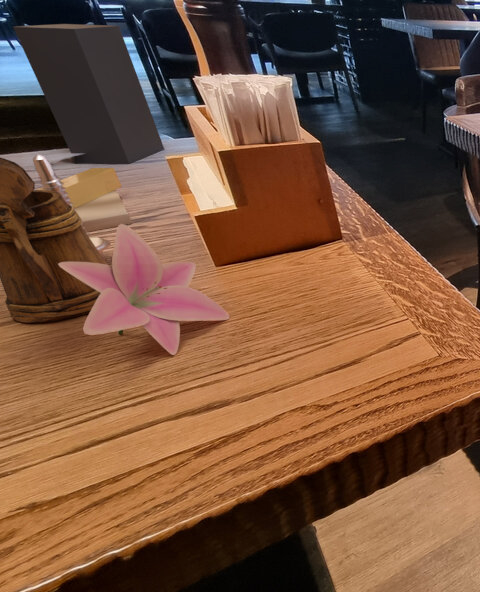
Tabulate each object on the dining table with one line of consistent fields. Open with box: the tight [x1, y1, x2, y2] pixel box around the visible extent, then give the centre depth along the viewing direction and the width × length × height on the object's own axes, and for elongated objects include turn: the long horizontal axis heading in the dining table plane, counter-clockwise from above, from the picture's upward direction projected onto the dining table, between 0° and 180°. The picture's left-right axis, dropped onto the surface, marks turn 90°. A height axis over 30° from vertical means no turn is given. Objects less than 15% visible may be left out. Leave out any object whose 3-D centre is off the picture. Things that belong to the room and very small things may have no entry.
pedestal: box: [12, 23, 165, 165], centre depth 96 cm, size 11×9×22 cm
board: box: [75, 189, 133, 233], centre depth 75 cm, size 16×8×2 cm, turn 44°
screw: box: [32, 154, 111, 261], centre depth 59 cm, size 13×5×5 cm
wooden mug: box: [0, 157, 109, 324], centre depth 49 cm, size 9×14×18 cm, turn 35°
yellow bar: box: [36, 167, 123, 208], centre depth 73 cm, size 19×3×3 cm, turn 7°
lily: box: [58, 224, 231, 356], centre depth 48 cm, size 12×12×10 cm
